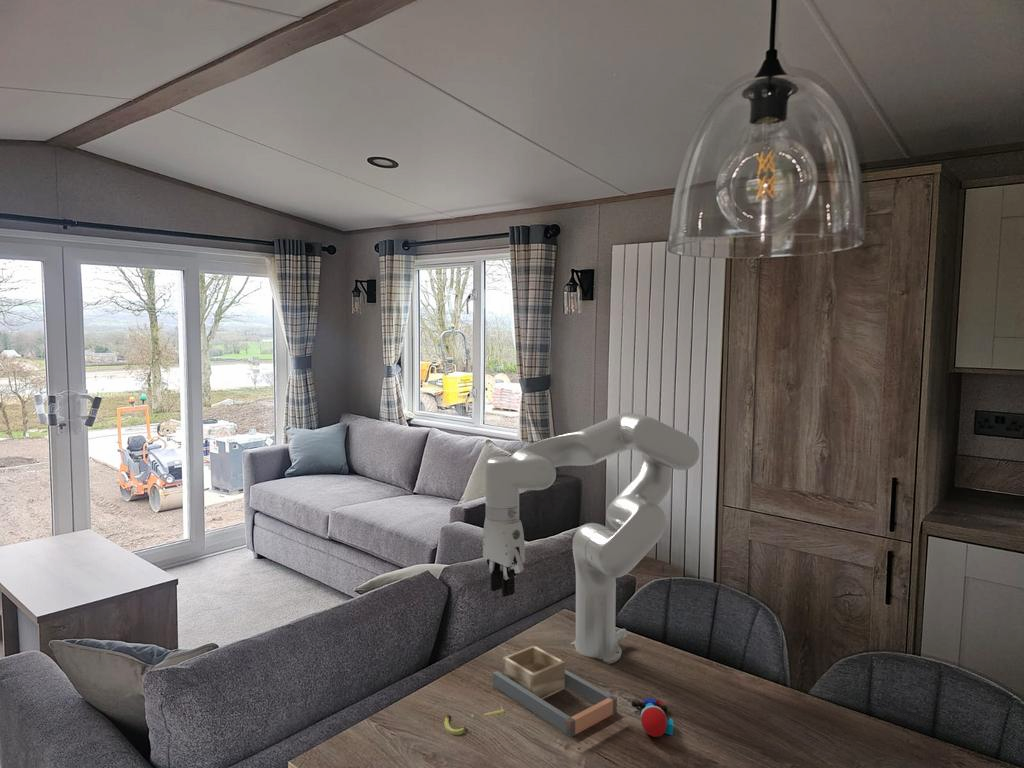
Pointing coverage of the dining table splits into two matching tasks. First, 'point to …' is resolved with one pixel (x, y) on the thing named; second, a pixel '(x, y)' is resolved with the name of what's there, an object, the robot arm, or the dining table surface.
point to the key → (464, 730)
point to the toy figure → (654, 717)
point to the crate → (535, 671)
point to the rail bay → (554, 716)
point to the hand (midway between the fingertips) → (502, 591)
